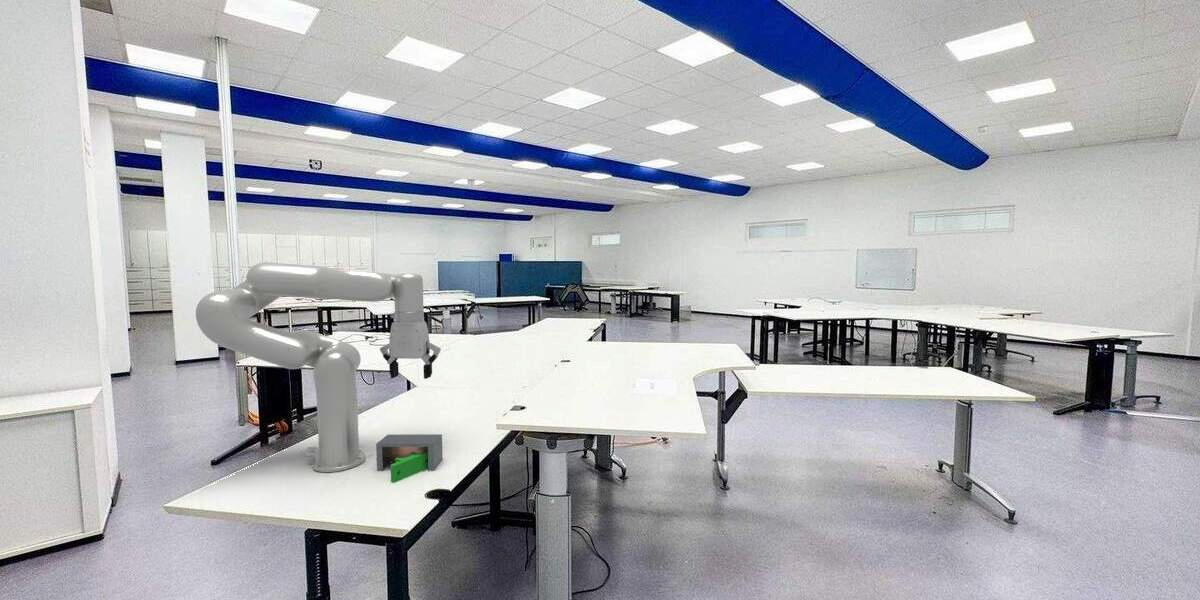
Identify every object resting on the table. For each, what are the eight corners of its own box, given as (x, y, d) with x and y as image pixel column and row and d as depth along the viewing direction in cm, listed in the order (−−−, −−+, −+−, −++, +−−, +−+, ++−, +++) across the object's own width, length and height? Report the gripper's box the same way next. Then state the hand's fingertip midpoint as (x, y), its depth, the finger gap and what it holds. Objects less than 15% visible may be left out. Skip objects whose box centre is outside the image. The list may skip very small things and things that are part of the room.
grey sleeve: (377, 470, 121) (376, 443, 120) (388, 460, 128) (387, 434, 127) (434, 470, 121) (433, 443, 121) (442, 460, 128) (442, 434, 127)
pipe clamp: (423, 464, 126) (422, 448, 125) (431, 467, 124) (431, 451, 123) (384, 479, 116) (384, 462, 116) (393, 483, 114) (393, 465, 114)
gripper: (372, 318, 126) (374, 379, 128) (433, 319, 125) (434, 381, 126) (387, 315, 134) (388, 373, 135) (444, 316, 133) (446, 374, 134)
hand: (411, 377), depth 131 cm, fingers open, 9 cm apart
